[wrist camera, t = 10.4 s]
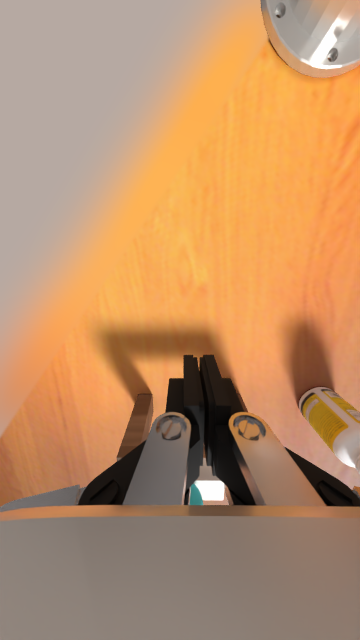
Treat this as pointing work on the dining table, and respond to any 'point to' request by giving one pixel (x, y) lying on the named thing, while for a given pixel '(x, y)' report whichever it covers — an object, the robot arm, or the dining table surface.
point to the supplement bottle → (334, 423)
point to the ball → (195, 496)
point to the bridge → (141, 427)
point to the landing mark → (211, 489)
